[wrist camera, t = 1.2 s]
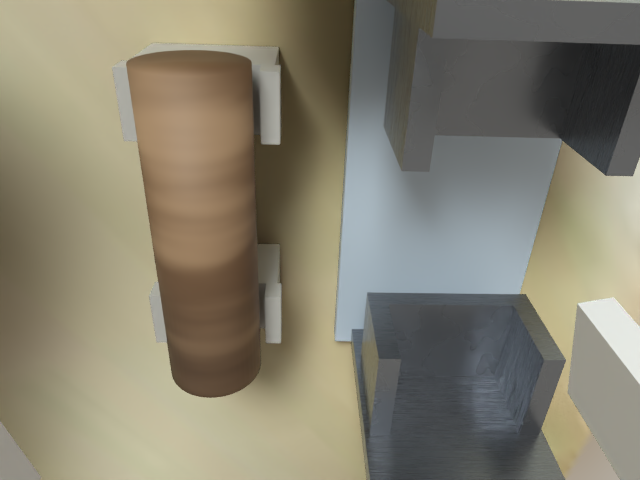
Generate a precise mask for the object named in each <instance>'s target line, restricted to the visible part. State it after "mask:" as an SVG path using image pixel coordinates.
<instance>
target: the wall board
mask: <svg viewBox="0 0 640 480" xmlns="http://www.w3.org/2000/svg"><path fill="white" fill-rule="evenodd" d="M394 13H395V7H394V6H393V5H391V4H390V3H389V2H388V1H386V0H355V3H354V19H353V35H352V51H351V68H350V84H349V100H348V116H347V132H346V149H345V165H344V181H343V197H342V214H341V230H340V246H339V262H338V278H337V295H336V311H335V327H334V334H335V341H351V333H352V329H364V320H365V309H366V299H367V292H372V293H455V294H520V291H521V287H522V283H523V280H524V276H525V273H526V269H527V266H528V262H529V258H530V255H531V251H532V248H533V244H534V240H535V237H536V233H537V230H538V226H539V223H540V219H541V215H542V212H543V208H544V205H545V201H546V197H547V194H548V190H549V187H550V183H551V180H552V176H553V172H554V169H555V165H556V162H557V158H558V154H559V151H560V147H561V144H562V140H561V139H560V138H523V137H482V136H440V135H435V137H434V144H433V150H432V157H431V164H430V170H429V172H415V171H401V168H400V166H399V164H398V161H397V159H396V156H395V154H394V151H393V149H392V146H391V144H390V142H389V139H388V137H387V134H386V132H385V129H384V127H383V125H384V115H385V105H386V95H387V85H388V74H389V64H390V54H391V44H392V34H393V23H394Z"/></svg>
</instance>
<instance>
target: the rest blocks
mask: <svg viewBox="0 0 640 480" xmlns="http://www.w3.org/2000/svg"><path fill="white" fill-rule="evenodd" d="M176 50H208V51H220V52H228V53H233V54H238V55H241V56H244V57H247V58H248V59H250V60H251V62H252V89H253V121H254V135H261V144H275V145H280V141H281V65H279V47H268V46H236V45H203V44H170V43H151V44H150V45H149V46H147V47H146V48H144V49H143V50H142V51H140V52H139V53H138V54H136V55H135V56H133V57H132V58H134V57H137V56H140V55H144V54H149V53H155V52H163V51H176ZM129 60H130V59H129ZM126 62H127V61H120V62H119V63H117V64H116V65H114V66H113V67H112V70H113V76H114V82H115V88H116V94H117V100H118V107H119V113H120V119H121V125H122V131H123V138H124V141H137V135H136V128H135V121H134V115H133V108H132V101H131V94H130V88H129V81H128V74H127V67H126ZM257 252H258V284H259V317H260V328H265V331H266V343H281V334H282V284H280V244H257ZM149 299H150V305H151V311H152V317H153V323H154V330H155V336H156V342H167V338H166V331H165V324H164V317H163V311H162V304H161V297H160V290H159V284H158V282H155V283H154V286H153V288H152V290H151V293H150V295H149Z"/></svg>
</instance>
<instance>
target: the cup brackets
mask: <svg viewBox="0 0 640 480" xmlns="http://www.w3.org/2000/svg"><path fill="white" fill-rule="evenodd" d="M386 1H388V2H389V3H390V4H391V5H393V6H394V7H395V13H394V23H393V34H392V44H391V54H390V64H389V74H388V85H387V95H386V105H385V115H384V125H383V127H384V129H385V132H386V134H387V137H388V139H389V142H390V144H391V146H392V149H393V151H394V154H395V156H396V159H397V161H398V164H399V166H400V168H401V171H415V172H429V170H430V164H431V157H432V150H433V144H434V137H435V135H440V136H482V137H523V138H560V139H561V140H562V141H564V142H565V143H566V144H567V145H569V146H570V147H571V148H572V149H574V150H575V151H576V152H577V153H579V154H580V155H581V156H582V157H584V158H585V159H586V160H587V161H589V162H590V163H591V164H592V165H593V166H595V167H596V168H597V169H598V170H600V171H601V172H602V173H603V174H605V175H606V176H633V174H634V171H635V169H636V166H637V163H638V160H639V158H640V0H386ZM351 347H352V356H353V365H354V373H355V382H356V391H357V400H358V408H359V417H360V426H361V434H362V443H363V452H364V460H365V469H366V478H367V480H565V478H564V476H563V474H562V472H561V470H560V468H559V466H558V464H557V462H556V459H555V457H554V455H553V453H552V451H551V449H550V447H549V445H548V443H547V441H546V438H545V436H544V434H543V432H542V430H541V428H542V425H543V422H544V419H545V417H546V414H547V411H548V408H549V406H550V403H551V400H552V397H553V395H554V392H555V389H556V386H557V384H558V381H559V378H560V375H561V373H562V370H563V367H564V364H565V362H566V359H565V358H564V356H563V355H562V353H561V351H560V350H559V348H558V346H557V345H556V343H555V341H554V340H553V338H552V337H551V335H550V333H549V332H548V330H547V328H546V327H545V325H544V324H543V322H542V320H541V319H540V317H539V315H538V314H537V312H536V310H535V309H534V307H533V306H532V304H531V302H530V301H529V299H528V297H527V296H526V294H455V293H372V292H367V299H366V309H365V320H364V329H352V333H351Z"/></svg>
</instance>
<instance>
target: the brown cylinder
mask: <svg viewBox="0 0 640 480" xmlns="http://www.w3.org/2000/svg"><path fill="white" fill-rule="evenodd" d="M126 67H127V74H128V81H129V88H130V94H131V101H132V108H133V115H134V121H135V128H136V135H137V142H138V148H139V155H140V162H141V169H142V175H143V182H144V189H145V196H146V202H147V209H148V216H149V223H150V230H151V236H152V243H153V250H154V257H155V263H156V270H157V277H158V284H159V290H160V297H161V304H162V311H163V317H164V324H165V331H166V338H167V344H168V351H169V358H170V365H171V371H172V377H173V379H174V381H175V383H176V384H177V385H178V386H179V387H180V388H181V389H182V390H184V391H185V392H187V393H189V394H192V395H195V396H199V397H209V398H211V397H222V396H226V395H230V394H233V393H235V392H237V391H240V390H241V389H243V388H245V387H246V386H247V385H249V384H250V383H251V382H252V381H253V380H254V379H255V377H256V376H257V374H258V372H259V370H260V366H261V349H260V317H259V284H258V252H257V219H256V187H255V154H254V121H253V89H252V62H251V60H250V59H248V58H247V57H244V56H241V55H238V54H233V53H228V52H220V51H208V50H176V51H163V52H155V53H149V54H144V55H140V56H137V57H134V58H131V59H130V60H128V61H127V62H126Z"/></svg>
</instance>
